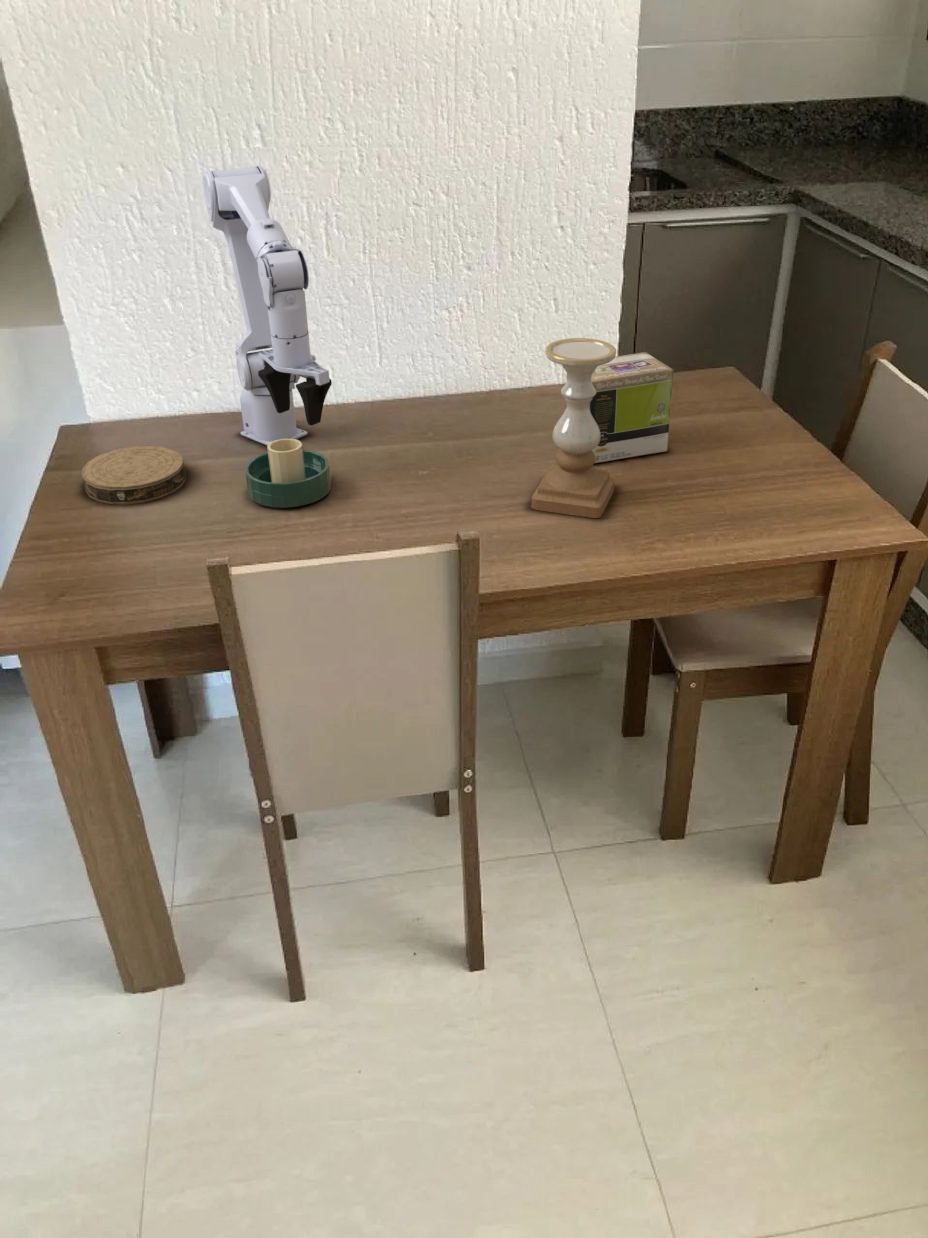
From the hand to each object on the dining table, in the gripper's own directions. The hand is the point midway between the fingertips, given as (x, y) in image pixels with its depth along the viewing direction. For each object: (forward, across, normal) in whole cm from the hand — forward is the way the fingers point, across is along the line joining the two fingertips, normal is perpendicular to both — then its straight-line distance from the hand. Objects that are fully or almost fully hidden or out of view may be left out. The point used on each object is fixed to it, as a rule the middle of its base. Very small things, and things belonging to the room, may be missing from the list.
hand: (298, 417), depth 163 cm
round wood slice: (+10, +18, +20) cm, 29 cm away
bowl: (+10, -4, +6) cm, 12 cm away
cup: (+9, -4, +6) cm, 12 cm away
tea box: (+10, -33, -41) cm, 54 cm away
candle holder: (+10, -39, -21) cm, 46 cm away
